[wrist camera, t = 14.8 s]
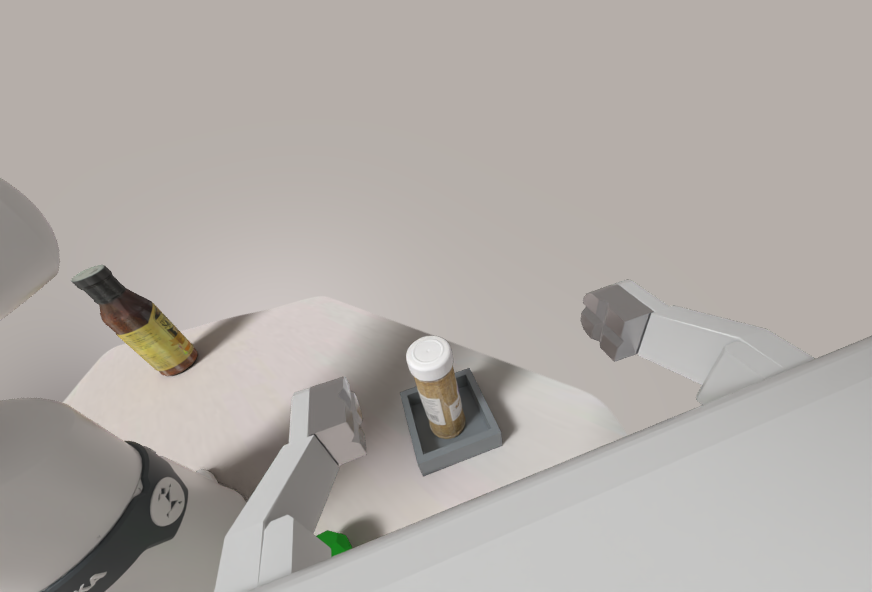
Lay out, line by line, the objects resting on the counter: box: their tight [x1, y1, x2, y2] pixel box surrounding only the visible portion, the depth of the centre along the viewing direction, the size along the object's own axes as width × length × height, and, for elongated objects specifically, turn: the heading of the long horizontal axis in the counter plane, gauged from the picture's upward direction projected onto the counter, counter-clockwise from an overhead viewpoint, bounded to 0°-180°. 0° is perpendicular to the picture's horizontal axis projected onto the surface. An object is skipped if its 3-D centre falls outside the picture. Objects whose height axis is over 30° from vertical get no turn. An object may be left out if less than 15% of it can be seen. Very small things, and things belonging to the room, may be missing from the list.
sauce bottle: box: [71, 265, 197, 376], centre depth 52 cm, size 6×6×20 cm
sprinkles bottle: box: [406, 336, 465, 439], centre depth 36 cm, size 5×5×14 cm
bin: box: [400, 368, 502, 476], centre depth 40 cm, size 10×10×3 cm
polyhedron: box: [316, 530, 352, 557], centre depth 30 cm, size 5×5×5 cm
